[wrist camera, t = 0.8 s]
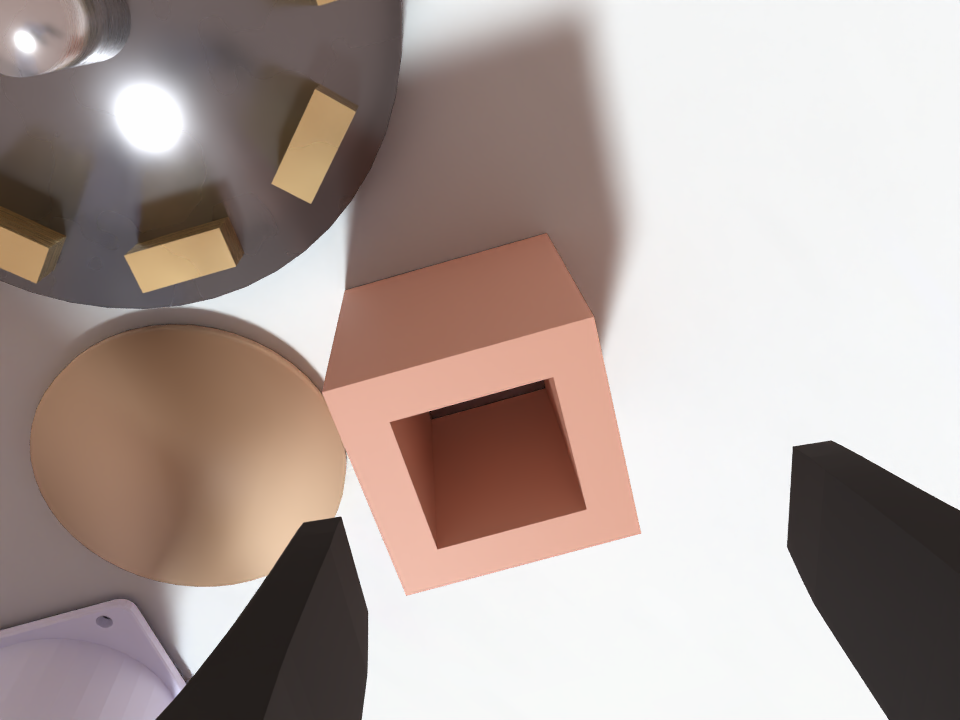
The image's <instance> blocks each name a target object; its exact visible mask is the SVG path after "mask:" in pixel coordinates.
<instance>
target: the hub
mask: <svg viewBox="0 0 960 720" xmlns="http://www.w3.org/2000/svg"><path fill="white" fill-rule="evenodd" d="M402 19H403V11H402V1H401V0H0V281H3V282H5V283H8V284H11V285H13V286H16V287H19V288H22V289H24V290H27V291H30V292H32V293H36V294H40V295H44V296H48V297H52V298H56V299H59V300H63V301H67V302H72V303H79V304H86V305H92V306H99V307H106V308H135V309H148V308H159V307H170V306H181V305H185V304H190V303H194V302H199V301H204V300H208V299H213V298H216V297H219V296H222V295H224V294H227V293H230V292H233V291H236V290H238V289H241V288H244V287H247V286H249V285H251V284H253V283H254V282H256V281H258V280H260V279H262V278H264V277H266V276H268V275H270V274H272V273H274V272H276V271H277V270H279V269H280V268H282V267H283V266H285V265H286V264H287V263H289V262H290V261H292V260H293V259H294V258H296V257H297V256H299V255H300V254H302V253H303V252H304V251H305V250H307V249H308V248H309V247H310V246H311V245H312V244H313V243H314V242H315V241H316V240H317V239H318V238H319V237H320V236H321V235H323V234H324V233H325V232H326V231H327V230H328V229H329V228H330V227H331V226H332V224H333V223H334V222H335V221H336V219H337V218H338V217H339V216H340V214H341V213H342V212H343V211H344V209H345V208H346V207H347V206H348V204H349V203H350V202H351V201H352V199H353V197H354V196H355V194H356V192H357V191H358V189H359V187H360V186H361V184H362V182H363V181H364V179H365V177H366V176H367V174H368V172H369V171H370V169H371V166H372V164H373V162H374V159H375V157H376V155H377V152H378V150H379V148H380V145H381V143H382V141H383V138H384V136H385V133H386V129H387V126H388V122H389V119H390V115H391V111H392V108H393V104H394V100H395V97H396V90H397V83H398V76H399V69H400V62H401V56H402Z"/></svg>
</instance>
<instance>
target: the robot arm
mask: <svg viewBox="0 0 960 720" xmlns="http://www.w3.org/2000/svg"><path fill="white" fill-rule="evenodd" d="M787 548H788V550H789V552H790V555H791V557H792V559H793V561H794V563H795V565H796V568H797V570H798V572H799V574H800V576H801V578H802V581H803V583H804V585H805V587H806V589H807V591H808V593H809V595H810V597H811V599H812V601H813V603H814V605H815V606H816V608H817V609H818V611H819V613H820V614H821V616H822V617H823V619H824V621H825V622H826V624H827V625H828V627H829V628H830V630H831V631H832V633H833V635H834V636H835V638H836V639H837V641H838V642H839V644H840V646H841V647H842V649H843V650H844V652H845V653H846V655H847V656H848V658H849V659H850V661H851V662H852V664H853V665H854V667H855V669H856V670H857V672H858V673H859V675H860V676H861V678H862V679H863V681H864V682H865V684H866V685H867V687H868V688H869V690H870V692H871V693H872V695H873V696H874V698H875V699H876V701H877V702H878V704H879V705H880V707H881V708H882V710H883V711H884V713H885V715H886V716H887V718H888V719H889V720H960V510H958V509H956V508H954V507H952V506H950V505H948V504H947V503H945V502H943V501H941V500H939V499H937V498H935V497H934V496H932V495H930V494H928V493H926V492H924V491H923V490H921V489H919V488H917V487H915V486H914V485H912V484H910V483H908V482H906V481H905V480H903V479H901V478H899V477H898V476H896V475H894V474H892V473H890V472H889V471H887V470H885V469H883V468H882V467H880V466H878V465H876V464H874V463H873V462H871V461H869V460H867V459H865V458H864V457H862V456H860V455H858V454H856V453H855V452H853V451H851V450H849V449H847V448H845V447H843V446H841V445H839V444H837V443H835V442H833V441H826V442H819V443H813V444H806V445H800V446H793V454H792V471H791V488H790V506H789V523H788V540H787ZM103 616H107V617H109V618H110V619H106V618H104V617H103ZM367 669H368V610H367V606H366V603H365V599H364V596H363V592H362V589H361V585H360V581H359V578H358V574H357V571H356V567H355V564H354V560H353V557H352V553H351V549H350V546H349V542H348V539H347V535H346V532H345V528H344V525H343V521H342V517H335V518H329V519H322V520H316V521H309V522H303V524H302V525H301V526H300V527H299V529H298V530H297V532H296V533H295V535H294V536H293V538H292V539H291V541H290V542H289V544H288V545H287V547H286V548H285V550H284V551H283V553H282V554H281V556H280V557H279V559H278V560H277V562H276V564H275V565H274V567H273V568H272V570H271V571H270V573H269V574H268V576H267V577H266V579H265V580H264V582H263V583H262V585H261V586H260V587H259V589H258V590H257V592H256V593H255V595H254V596H253V597H252V599H251V600H250V602H249V603H248V605H247V606H246V607H245V609H244V610H243V612H242V613H241V614H240V616H239V617H238V619H237V620H236V622H235V623H234V624H233V626H232V627H231V628H230V630H229V631H228V632H227V634H226V635H225V636H224V638H223V639H222V640H221V642H220V643H219V644H218V645H217V647H216V648H215V649H214V650H213V652H212V653H211V654H210V656H209V657H208V658H207V659H206V661H205V662H204V663H203V665H202V666H201V667H200V668H199V670H198V671H197V672H196V674H195V675H194V676H193V677H192V678H191V680H190V681H189V682H188V683H187V684H186V683H185V681H184V680H183V678H182V677H181V675H180V673H179V672H178V670H177V669H176V667H175V666H174V664H173V662H172V661H171V659H170V658H169V656H168V655H167V653H166V651H165V650H164V648H163V647H162V645H161V644H160V642H159V640H158V639H157V637H156V636H155V634H154V633H153V631H152V629H151V628H150V626H149V625H148V623H147V622H146V620H145V618H144V617H143V615H142V614H141V612H140V611H139V609H138V608H137V606H136V605H135V604H134V603H133V602H131V601H129V600H126V599H115V600H111V601H108V602H104V603H100V604H96V605H93V606H89V607H85V608H82V609H78V610H74V611H70V612H67V613H63V614H59V615H56V616H52V617H48V618H44V619H41V620H37V621H33V622H30V623H26V624H22V625H18V626H15V627H11V628H7V629H4V630H0V720H362V712H363V704H364V697H365V689H366V680H367Z"/></svg>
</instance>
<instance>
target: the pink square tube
mask: <svg viewBox="0 0 960 720" xmlns="http://www.w3.org/2000/svg"><path fill="white" fill-rule="evenodd" d="M541 380H544V384H545V389H541V390H538V391H534V392H531V393H527V394H523V395H520V396H516V397H512V398H509V399H505V400H501V401H498V402H494V403H491V404H487V405H483V406H480V407H476V408H472V409H469V410H465V411H461V412H458V413H454V414H451V415H447V416H443V417H440V418H436V419H432V420H431V417H430V414H429V412H428V411H432V410H436V409H439V408H443V407H447V406H450V405H454V404H457V403H461V402H465V401H468V400H472V399H476V398H479V397H483V396H486V395H490V394H494V393H497V392H501V391H505V390H508V389H512V388H515V387H519V386H523V385H526V384H530V383H534V382H537V381H541ZM322 394H323V396H324V399H325V401H326V403H327V406H328V408H329V411H330V413H331V415H332V418H333V420H334V423H335V425H336V427H337V430H338V432H339V435H340V437H341V440H342V442H343V444H344V447H345V449H346V452H347V454H348V456H349V459H350V461H351V464H352V466H353V468H354V471H355V473H356V476H357V478H358V480H359V483H360V485H361V488H362V490H363V492H364V495H365V497H366V500H367V502H368V505H369V507H370V509H371V512H372V514H373V517H374V519H375V521H376V524H377V526H378V529H379V531H380V533H381V536H382V538H383V541H384V543H385V545H386V548H387V550H388V553H389V555H390V557H391V560H392V562H393V565H394V567H395V570H396V572H397V574H398V577H399V579H400V582H401V584H402V586H403V589H404V591H405V594H406V596H407V595H411V594H415V593H418V592H422V591H426V590H430V589H433V588H437V587H441V586H445V585H449V584H452V583H456V582H460V581H464V580H467V579H471V578H475V577H479V576H483V575H486V574H490V573H494V572H498V571H501V570H505V569H509V568H513V567H516V566H520V565H524V564H528V563H532V562H535V561H539V560H543V559H547V558H550V557H554V556H558V555H562V554H565V553H569V552H573V551H577V550H581V549H584V548H588V547H592V546H596V545H599V544H603V543H607V542H611V541H614V540H618V539H622V538H626V537H630V536H633V535H637V534H641V531H640V526H639V522H638V517H637V513H636V508H635V503H634V499H633V494H632V489H631V485H630V480H629V476H628V471H627V466H626V462H625V457H624V453H623V448H622V443H621V439H620V434H619V429H618V425H617V420H616V416H615V411H614V406H613V402H612V397H611V393H610V388H609V383H608V379H607V374H606V370H605V365H604V360H603V356H602V351H601V346H600V342H599V337H598V333H597V328H596V323H595V319H594V316H593V314H592V312H591V310H590V309H589V307H588V305H587V303H586V302H585V300H584V298H583V296H582V294H581V293H580V291H579V289H578V287H577V286H576V284H575V282H574V280H573V279H572V277H571V275H570V273H569V272H568V270H567V268H566V266H565V264H564V263H563V261H562V259H561V257H560V256H559V254H558V252H557V250H556V249H555V247H554V245H553V243H552V242H551V240H550V238H549V236H548V234H547V233H545V234H542V235H538V236H535V237H531V238H528V239H524V240H521V241H517V242H514V243H510V244H507V245H503V246H500V247H496V248H493V249H489V250H485V251H482V252H478V253H475V254H471V255H468V256H464V257H461V258H457V259H454V260H450V261H447V262H443V263H440V264H436V265H433V266H429V267H426V268H422V269H419V270H415V271H411V272H408V273H404V274H401V275H397V276H394V277H390V278H387V279H383V280H380V281H376V282H373V283H369V284H366V285H362V286H359V287H355V288H352V289H348V290H345V292H344V296H343V301H342V305H341V310H340V314H339V319H338V323H337V328H336V332H335V336H334V341H333V345H332V350H331V354H330V359H329V363H328V368H327V372H326V376H325V381H324V385H323V390H322Z"/></svg>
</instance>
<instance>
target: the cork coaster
mask: <svg viewBox="0 0 960 720" xmlns="http://www.w3.org/2000/svg"><path fill="white" fill-rule="evenodd" d="M30 454H31V463H32V467H33V472H34V476H35V479H36V482H37V484H38V487H39V489H40V492H41V494H42V496H43V498H44V500H45V501H46V503H47V505H48V507H49V508H50V510H51V511H52V513H53V514H54V515H55V517H56V518H57V519H58V521H59V522H60V523H61V524H62V525H63V526H64V528H65V529H66V530H67V531H68V532H69V533H70V534H71V535H72V536H73V537H74V538H75V539H77V540H78V541H79V542H80V543H81V544H83V545H84V546H85V547H86V548H87V549H89V550H90V551H92V552H93V553H95V554H96V555H98V556H99V557H101V558H102V559H104V560H106V561H108V562H110V563H112V564H113V565H115V566H117V567H119V568H121V569H124V570H126V571H129V572H131V573H134V574H136V575H139V576H142V577H145V578H149V579H152V580H155V581H159V582H165V583H170V584H175V585H184V586H195V587H210V586H224V585H233V584H238V583H243V582H247V581H252V580H255V579H258V578H261V577H264V576H267V575H268V574H269V573H270V571H271V570H272V568H273V567H274V565H275V564H276V562H277V560H278V559H279V557H280V556H281V554H282V553H283V551H284V550H285V548H286V547H287V545H288V544H289V542H290V541H291V539H292V538H293V536H294V535H295V533H296V532H297V530H298V529H299V527H300V526H301V525H302V524H303V522H309V521H316V520H322V519H329V518H334V517H335V515H336V513H337V511H338V508H339V504H340V501H341V498H342V495H343V488H344V481H345V474H346V452H345V447H344V444H343V442H342V440H341V437H340V435H339V432H338V430H337V427H336V425H335V423H334V420H333V418H332V415H331V413H330V411H329V408H328V406H327V403H326V401H325V399H324V397H323V395H322V394H321V392H320V391H319V390H318V388H317V387H316V386H315V385H314V384H313V383H312V382H311V381H310V380H309V378H308V377H307V376H306V375H305V374H303V373H302V372H301V371H300V370H299V369H298V368H297V367H295V366H294V365H293V364H292V363H291V362H289V361H288V360H286V359H285V358H283V357H282V356H280V355H279V354H277V353H276V352H275V351H273V350H271V349H269V348H267V347H265V346H263V345H261V344H259V343H257V342H255V341H253V340H250V339H248V338H245V337H243V336H240V335H237V334H235V333H231V332H227V331H223V330H220V329H216V328H211V327H204V326H197V325H181V324H166V325H155V326H147V327H142V328H137V329H133V330H128V331H125V332H122V333H120V334H117V335H114V336H111V337H108V338H106V339H104V340H103V341H101V342H99V343H97V344H95V345H93V346H91V347H90V348H88V349H87V350H85V351H84V352H83V353H81V354H80V355H79V356H77V357H76V358H75V359H74V360H73V361H72V362H71V363H70V364H69V365H68V366H67V367H66V368H65V369H64V370H63V371H62V372H61V373H60V374H59V375H58V376H57V377H56V378H55V379H54V381H53V382H52V383H51V385H50V386H49V388H48V389H47V390H46V392H45V393H44V395H43V397H42V399H41V401H40V403H39V405H38V407H37V409H36V413H35V416H34V420H33V423H32V428H31V437H30Z"/></svg>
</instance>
